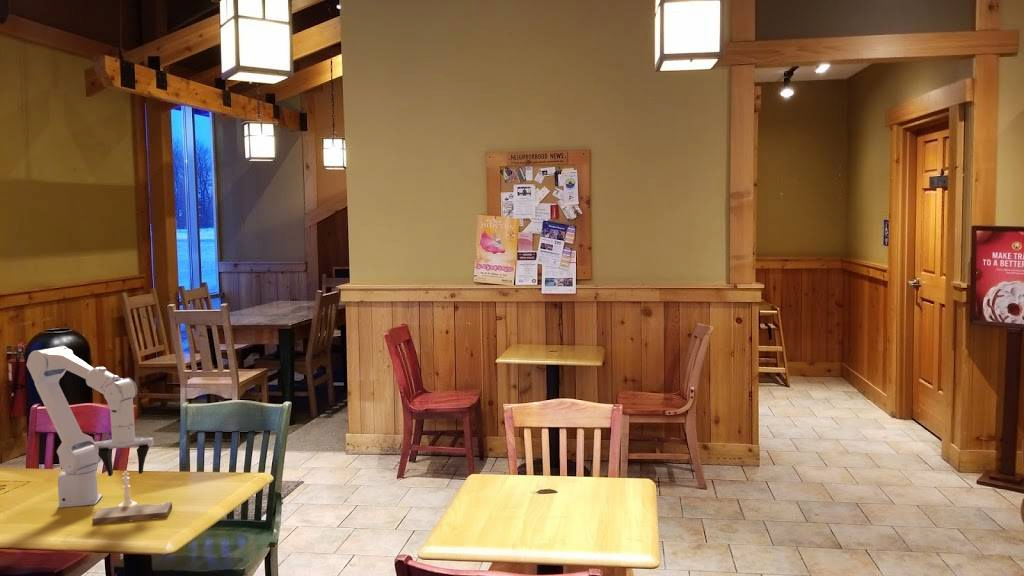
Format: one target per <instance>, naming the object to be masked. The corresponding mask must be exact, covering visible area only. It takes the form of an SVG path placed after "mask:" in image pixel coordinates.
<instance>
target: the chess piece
mask: <svg viewBox="0 0 1024 576" xmlns="http://www.w3.org/2000/svg"><path fill="white" fill-rule="evenodd" d="M129 475H130V472H128V471H127V470H125V471H124V472H122V476H124V477H122V478H121V480H122V483H123V486H122V488H121V489H124V496H123V497H124V498H123V501H122V503H119V504H118V505H117V507H123V506H134V505H138V502H137V501H133V500H132V499H131V495H130V489H129V488H131V487H132V486H131V485H130V480H131V477H129Z"/></svg>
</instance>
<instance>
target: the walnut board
mask: <svg viewBox="0 0 1024 576" xmlns="http://www.w3.org/2000/svg"><path fill="white" fill-rule="evenodd" d="M172 509H173V502H171V501H170V502H161V503H148V504H147V503H146V504H137V505H134V506H123V507H118V506H114V507H113V506H112V507H102V508H101V507H100V508H99V509H98V511H97V512H96V513H95V514H94V515H93V517H92V519H91V521H92V522H91V523H92V525H103V524H111V523H110V522H114V523H122V522H121V521H125V522H131V521H130V520H136V521H143V520H142V519H147V520H154V519H153V518H159V519H166V518H168V517H169V515H168V514H170V513H171V511H172ZM118 521H119V522H118ZM102 523H103V524H102Z"/></svg>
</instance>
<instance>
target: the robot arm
mask: <svg viewBox="0 0 1024 576" xmlns="http://www.w3.org/2000/svg"><path fill="white" fill-rule="evenodd" d="M26 361H27V362H26V367H27V370H28V371H29V373H30V375H31V379H32V380H33V382H34V383H33V384H34V386H35V388H36V391H37V393H38V395H39V397H40V400H41V401H42V403H43V405H44V408H45V410H46V412H47V413H48V416H49V418H50V420H51V422H52V424H53V426H54V428H55V431H56V432H57V433H56V434H57V435H58V436H59V439H60V441H61V443H60V444H59V446H58V448H57V450H56V454H57V456H58V460H59V465H60V467H61V469H62V470H63V471H61V472H60V473H59V474H58V477H57V494H58V495H57V496H58V508H68V507H79V506H80V507H81V506H93V505H96V504H97V503H98V502H99V501H100V500H101V498H102V497H103V494H102V493H100V494H99V492H98V490H99V489H98V474H97V469H98V468H99V464H100V462H101V461H102V462H103V464H104V467H105V469H106V472H107V476H108V477H112V476H113V474H114V469H113V459H112V458H113V450H114V449H123V448H136V447H137V449H136V454H137V460H138V474H143V472H144V467H145V461H146V458H147V454H148V453H149V450H150V447H153V446H154V437H136V430H135V429H136V428H135V427H136V426H135V413H134V411H135V410H134V398H136V396H137V394H138V387H137V384H136V382H135V381H134V380H133V379H132V378H130V377H124V378H122V377H120V376H119V375H117V374H116V375H115V374H114V373H112V372H111V371H108V370H107V368H106V367H104V366H97V367H93V366H92V365H89V364H88V363H87V362H86V361H84V360H83V359H82V358H79V357H78V356H76V355H75V354H74V351H73V350H72V349H70V348H68V347H67V346H65V345H58V346H56V347H51V348H50V347H49V348H43V349H38V350H33V351H31V352H30V354H29V355H28V357H27V360H26ZM66 372H70V373H72V374H74V375H77V376H78V377H81V378H82V379H84V380H85V383H86V385H87V386H88V387H90V388H92V389H93V390H95V391H97V392H99V393H100V394H103V397H104V399H105V401H106V402H107V408H108V409H109V410H110V411H109V414H110V426H111V427H110V430H111V439H108V440H101V441H95V440H94V439H93V436H90V435H88V434H85V433H83V431H82V429H81V427H80V425H79V423H78V421H77V419H76V417H75V415H74V413H73V411H72V408H71V406H70V404H69V402H68V400H67V398H66V396H65V394H64V392H63V390H62V388H61V385H60V379H61V378H63V376H64V375H65V373H66Z"/></svg>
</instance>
